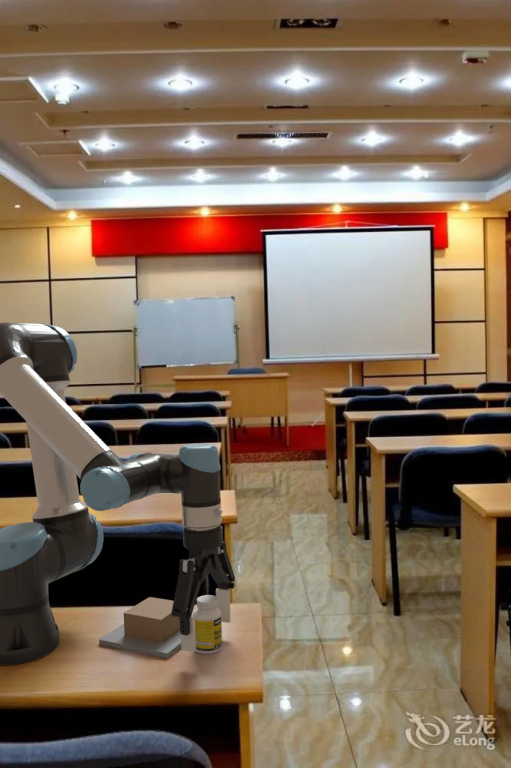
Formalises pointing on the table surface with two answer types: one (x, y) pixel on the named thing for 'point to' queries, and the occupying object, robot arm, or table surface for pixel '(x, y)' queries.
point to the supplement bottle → (208, 625)
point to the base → (142, 643)
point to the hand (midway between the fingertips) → (207, 635)
